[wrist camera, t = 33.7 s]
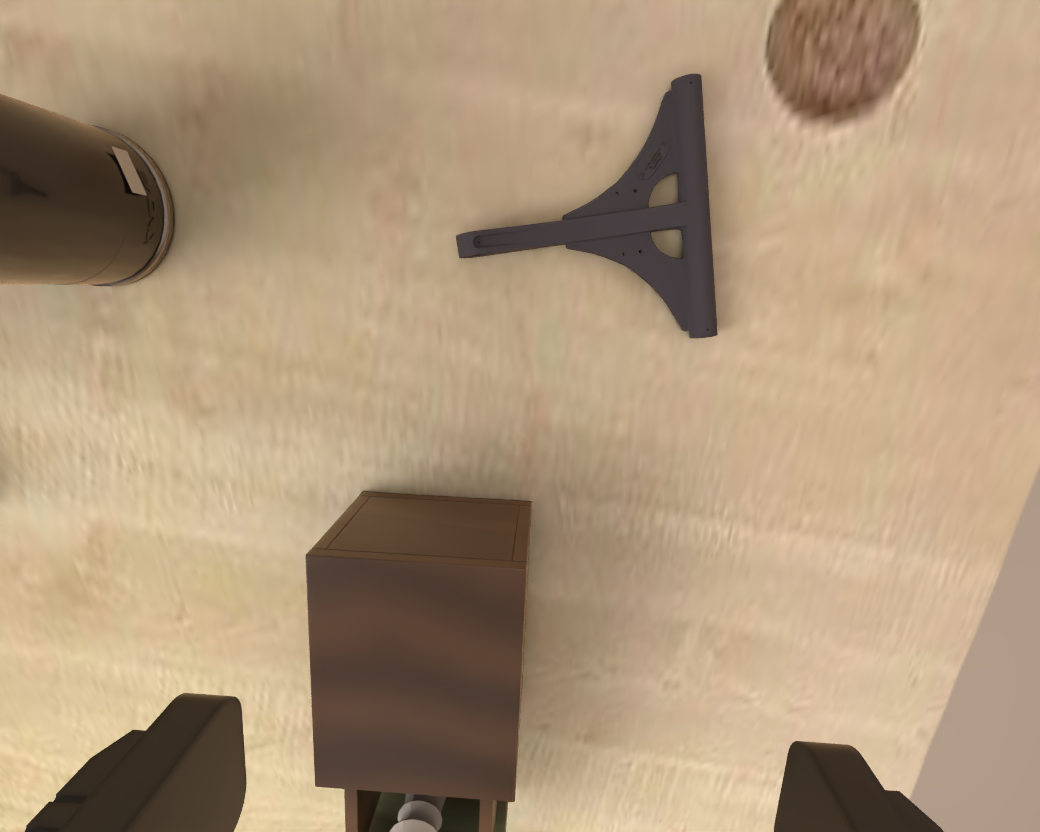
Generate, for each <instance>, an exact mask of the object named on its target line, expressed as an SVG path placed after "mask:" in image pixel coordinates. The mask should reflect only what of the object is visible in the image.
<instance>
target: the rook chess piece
mask: <svg viewBox="0 0 1040 832" xmlns="http://www.w3.org/2000/svg"><path fill="white" fill-rule="evenodd" d="M445 799H446V797H443V796H430V795H417V794H406V799H405V803H404V805H403V806H402V808H401V809H400V810H399V813H398V821H399V822H398V823H397V824H395V825H394V826H393V828H392V829H391V830H390V832H438V830H439V829H440V828H441V825H442V817H441V810H442V807H443V805H444V802H445Z"/></svg>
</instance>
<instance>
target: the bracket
mask: <svg viewBox="0 0 1040 832" xmlns="http://www.w3.org/2000/svg"><path fill="white" fill-rule="evenodd" d="M672 173H678V184H679V202H678V203H675V204H670V205H664V206H658V207H652V208H649V206H648V201H649V197H650V194H651V192H652V190H653V188H654V186H655V185H656V184H657V183H658V181H660V180H661V179H662V178H664V177H665V176H668V175H670V174H672ZM633 190H635V191H636V192H635V193H634V192H633ZM615 193H618V195H615ZM670 229H679V230H681V233H682V240H683V252H684V258H682V259H678V258H672V257H669V256H666V255H665V254H663V253H662V252H660V251H659V250H658V249H657V247H656V246H655V244H654V243H653V240H652V238H651V232H655V231H662V230H670ZM456 239H457V246H458V252H459V258H471V257H480V256H487V255H494V254H501V253H508V252H515V251H522V250H529V249H536V248H543V247H550V246H557V245H564V244H566V248H567V249H572V250H577V251H583V252H588V253H593V254H597V255H600V256H603V257H606V258H608V259H611V260H613V261H616V262H618V263H620V264H623V265H625V266H626V267H628V268H629V269H631V270H632V271H633V272H635V273H636V274H638V275H639V276H640V277H641V278H643V279H644V280H645V281H646V282H647V283H648V284H649V285H651V286H652V287H653V288H654V290H655V291H656V292H657V293H658V294H659V295H660V296H661V297H662V299H663V300H664V301H665V303H666V304H667V305H668V307H669V308H670V310H671V311H672V313H673V315H674V316H675V318H676V320H677V322H678V323H679V325H680V327H681V329H682V330H683V331H689V335H690V338H705V337H712V336H716V335H717V318H716V302H715V286H714V271H713V255H712V239H711V223H710V207H709V191H708V175H707V160H706V144H705V128H704V112H703V96H702V80H701V75H700V74H689V75H685V76H681V77H679V78H676V79H675V80H673V81H672V82H671V91H670V92H666V93H665V95H664V98H663V101H662V104H661V107H660V110H659V113H658V116H657V119H656V121H655V124H654V126H653V129H652V131H651V133H650V135H649V137H648V139H647V141H646V143H645V145H644V147H643V148H642V150H641V152H640V153H639V155H638V157H637V158H636V159H635V161H634V162H633V163H632V165H631V166H630V167H629V169H628V170H627V171H626V172H625V173H624V175H623V176H622V177H621V178H620V179H619V181H618V182H617V183H615V184H614V185H613V186H612V187H610V188H609V189H608V190H606V191H605V192H604V193H602V194H601V195H600V196H599V197H597V198H596V199H594V200H592V201H591V202H589V203H588V204H586V205H584V206H582V207H580V208H578V209H576V210H574V211H572V212H570V213H568V214H566V215H564V216H563V220H562V221H555V222H547V223H539V224H531V225H523V226H514V227H506V228H497V229H488V230H479V231H472V232H467V233H463V234H459V235H457V236H456ZM639 250H640V251H641V253H639ZM621 253H623V256H621Z"/></svg>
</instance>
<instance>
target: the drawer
mask: <svg viewBox="0 0 1040 832" xmlns="http://www.w3.org/2000/svg"><path fill="white" fill-rule="evenodd" d="M405 799H406V794H405V793H392V792H379V791H366V790H354V789H345V824H346V832H390V830H391V829H392V828H393V826H394V825H395V824H397V823H398V822H399V821H398V813H399V810H400V809H401V808H402V806H403V805H404V803H405ZM507 810H508V802H507V801H494V800H481V799H469V798H456V797H446V799H445V802H444V805H443V807H442V810H441V817H442V825H441V828H440V829H439V830H438V832H506V823H507Z"/></svg>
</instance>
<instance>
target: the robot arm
mask: <svg viewBox="0 0 1040 832" xmlns="http://www.w3.org/2000/svg"><path fill="white" fill-rule="evenodd" d="M172 231H173V207H172V201H171V197H170V193H169V190H168V187H167V185H166V182H165V180H164V178H163V176H162V174H161V173H160V171H159V169H158V168H157V166H156V165H155V163H154V162H153V161H152V159H151V158H150V157H149V156H148V155H147V154H146V153H145V152H144V151H143V150H142V149H141V148H140V147H139V146H137V145H136V144H135V143H134V142H132V141H131V140H129V139H128V138H126V137H124V136H122V135H120V134H118V133H116V132H113V131H110V130H108V129H105V128H102V127H98V126H94V125H89V124H85V123H82V122H79V121H76V120H73V119H71V118H68V117H65V116H63V115H60V114H57V113H54V112H51V111H48V110H46V109H43V108H40V107H37V106H34V105H31V104H28V103H25V102H22V101H20V100H17V99H14V98H11V97H8V96H5V95H2V94H0V284H88V285H94V286H120V285H125V284H129V283H132V282H135V281H137V280H139V279H141V278H143V277H144V276H146V275H147V274H149V273H150V272H151V271H152V270H153V269H154V268H155V267H156V266H157V265H158V264H159V263H160V261H161V260H162V258H163V257H164V255H165V253H166V251H167V249H168V246H169V243H170V240H171V236H172ZM245 793H246V768H245V753H244V737H243V722H242V709H241V704H240V701H239V699H238V698H237V697H232V696H219V695H206V694H193V693H183V694H181V695H179V696H178V697H176V698H175V699H174V700H173V701H172V702H171V703H170V704H169V705H168V707H167V708H166V709H165V710H164V711H163V712H162V713H161V714H160V716H159V717H158V718H157V719H156V720H155V721H154V722H153V723H152V725H151V726H150V727H149V728H148V729H147V730H146V731H142V730H132V731H131V732H129V733H128V734H126V735H125V736H123V737H122V738H120V739H119V740H117V741H116V742H114V743H113V744H111V745H110V746H108V747H107V748H105V749H104V750H102V751H101V752H99V753H98V754H96V755H95V756H93V757H92V758H90V759H89V760H88V762H87V763H86V764H85V765H84V766H83V767H82V768H81V769H80V770H79V771H78V772H77V773H76V774H75V775H74V776H73V777H72V778H71V779H70V780H69V782H68V783H67V784H66V785H65V786H64V787H63V788H62V789H61V790H60V791H59V792H58V793H57V794H56V798H55V800H54V801H53V802H49V803H48V804H47V805H46V806H45V807H44V808H43V809H42V810H41V811H40V812H39V813H38V814H37V815H36V816H35V817H34V818H33V819H32V820H31V822H30V823H29V824H28V825H27V827H26V830H25V832H234V830H235V827H236V825H237V823H238V820H239V817H240V814H241V811H242V807H243V803H244V799H245ZM774 832H943V830H942V829H941V828H940V827H939V826H938V825H937V824H936V823H935V822H933V821H932V820H931V819H930V818H929V817H928V816H927V815H926V814H924V813H923V812H922V811H921V810H920V809H919V808H918V807H917V806H915V805H914V804H913V803H912V802H911V801H910V800H909V799H908V798H906V797H905V796H904V795H903V794H902V793H901V792H900V791H888V790H884V788H883V787H882V785H881V784H880V782H879V781H878V779H877V778H876V776H875V775H874V773H873V772H872V770H871V769H870V767H869V766H868V764H867V763H866V761H865V760H864V758H863V757H862V756H861V754H860V753H859V752H858V751H857V750H856V749H855V748H854V747H852V746H850V745H842V744H829V743H816V742H802V741H795V742H794V743H792V745H791V746H790V749H789V752H788V756H787V762H786V767H785V772H784V777H783V783H782V788H781V793H780V798H779V804H778V809H777V814H776V819H775V825H774Z"/></svg>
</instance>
